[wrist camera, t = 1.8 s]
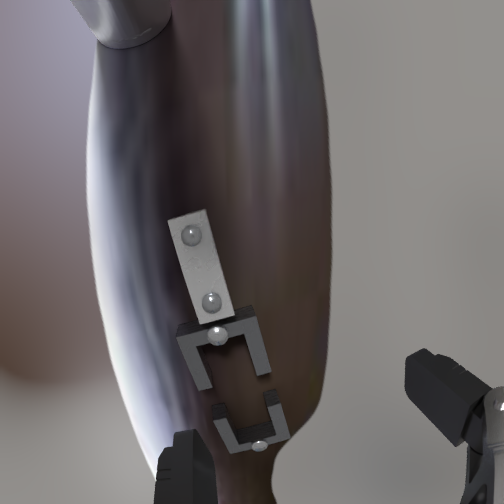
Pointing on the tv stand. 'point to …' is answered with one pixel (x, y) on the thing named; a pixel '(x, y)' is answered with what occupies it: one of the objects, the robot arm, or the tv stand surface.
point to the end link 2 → (252, 427)
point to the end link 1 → (220, 343)
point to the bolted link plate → (201, 266)
